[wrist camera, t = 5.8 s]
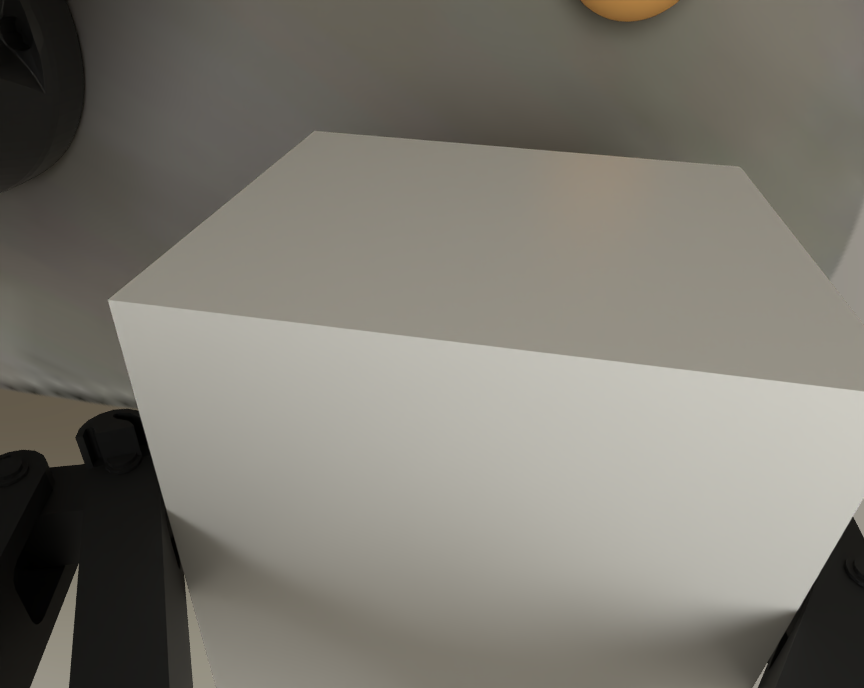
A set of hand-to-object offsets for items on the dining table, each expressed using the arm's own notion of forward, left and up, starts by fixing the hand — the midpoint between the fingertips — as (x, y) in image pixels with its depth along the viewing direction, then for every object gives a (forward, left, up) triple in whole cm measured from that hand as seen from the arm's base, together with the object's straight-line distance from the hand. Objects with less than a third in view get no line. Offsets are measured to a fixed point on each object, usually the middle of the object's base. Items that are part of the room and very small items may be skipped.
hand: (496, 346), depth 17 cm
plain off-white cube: (0, 0, -1) cm, 1 cm away
